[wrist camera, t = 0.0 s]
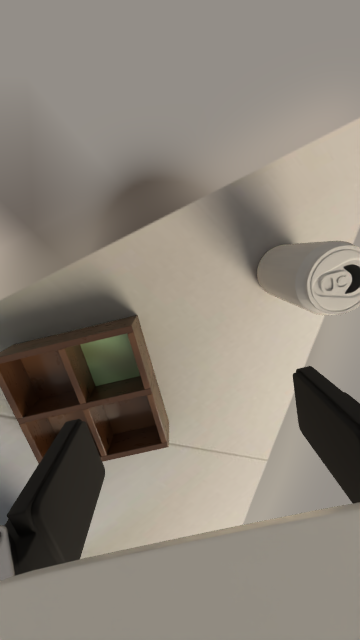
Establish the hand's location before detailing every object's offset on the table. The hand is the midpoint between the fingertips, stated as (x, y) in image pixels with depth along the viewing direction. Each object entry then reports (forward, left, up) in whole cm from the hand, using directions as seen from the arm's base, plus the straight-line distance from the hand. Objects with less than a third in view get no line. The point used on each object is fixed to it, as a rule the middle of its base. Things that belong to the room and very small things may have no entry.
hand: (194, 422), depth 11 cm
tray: (+8, -14, -22) cm, 28 cm away
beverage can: (-2, +14, -22) cm, 26 cm away
